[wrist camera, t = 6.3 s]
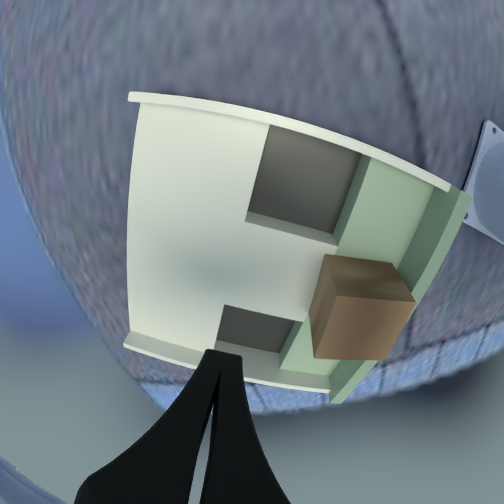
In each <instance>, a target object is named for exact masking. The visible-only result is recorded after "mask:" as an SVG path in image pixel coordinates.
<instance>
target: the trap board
mask: <svg viewBox="0 0 504 504" xmlns="http://www.w3.org/2000/svg"><path fill="white" fill-rule="evenodd" d="M128 101H133V102H141V104H140V110H139V115H138V121H137V128H136V134H135V141H134V149H133V157H132V166H131V176H130V188H129V202H128V223H127V285H128V306H129V320H130V332H129V334H128V335H127V337H126V339H125V341H124V343H123V344H124V347H126V348H128V349H131V350H134V351H137V352H140V353H143V354H146V355H149V356H152V357H155V358H158V359H161V360H165V361H168V362H171V363H175V364H178V365H181V366H185V367H189V368H192V369H196V368H197V367H198V365H199V363H200V361H201V359H202V357H203V355H204V352H205V350H206V349H213V350H217V351H222V352H227V353H231V354H236V355H241V357H242V358H243V377H244V381H248V382H253V383H259V384H264V385H270V386H276V387H283V388H289V389H297V390H304V391H312V392H322V393H329V400H330V403H338V404H341V403H342V402H343V401H344V399H345V398H346V397H347V396H348V395H349V394H350V393H351V392H352V391H353V390H354V388H355V387H356V386H357V385H358V384H359V383H360V382H361V380H362V379H363V378H364V377H365V376H366V375H367V373H368V372H369V371H370V370H371V369H372V367H373V366H374V365H375V364H376V362H377V361H378V360H332V359H314V356H313V347H312V338H311V329H310V321H309V309H310V306H311V303H312V299H313V296H314V292H315V288H316V285H317V281H318V277H319V274H320V270H321V266H322V262H323V258H324V254H331V255H339V256H346V257H354V258H361V259H368V260H376V261H383V262H390V263H392V264H393V265H394V267H395V268H396V270H397V272H398V273H399V275H400V276H401V278H402V280H403V281H404V283H405V284H406V286H407V288H408V289H409V291H410V293H411V294H412V296H413V298H414V299H415V301H416V304H415V306H414V308H413V310H412V312H411V314H410V316H411V315H412V313H413V312H414V310H415V308H416V307H417V305H418V304H419V302H420V301H421V299H422V297H423V296H424V294H425V293H426V291H427V289H428V288H429V286H430V284H431V282H432V281H433V279H434V277H435V275H436V274H437V272H438V270H439V268H440V266H441V265H442V263H443V261H444V259H445V257H446V255H447V253H448V251H449V249H450V247H451V245H452V243H453V241H454V239H455V237H456V235H457V233H458V231H459V228H460V226H461V224H462V222H463V219H464V217H465V215H466V212H467V210H468V208H469V205H470V203H471V200H472V198H473V197H472V196H470V195H469V194H467V193H465V192H464V191H462V190H460V189H458V188H457V187H455V186H453V185H451V184H450V183H448V182H446V181H444V180H442V179H440V178H439V177H437V176H435V175H433V174H431V173H429V172H427V171H425V170H423V169H421V168H419V167H417V166H415V165H413V164H411V163H409V162H407V161H405V160H402V159H400V158H398V157H396V156H394V155H391V154H389V153H387V152H384V151H382V150H380V149H377V148H375V147H372V146H370V145H368V144H365V143H362V142H360V141H357V140H355V139H352V138H349V137H347V136H344V135H341V134H338V133H335V132H332V131H330V130H327V129H324V128H320V127H317V126H314V125H311V124H308V123H305V122H301V121H298V120H294V119H291V118H287V117H284V116H280V115H276V114H272V113H268V112H264V111H260V110H256V109H251V108H247V107H242V106H237V105H232V104H227V103H222V102H216V101H210V100H204V99H198V98H191V97H184V96H176V95H167V94H156V93H144V92H129V97H128ZM410 316H409V317H408V319H409V318H410ZM408 319H407V321H408ZM407 321H406V322H407Z"/></svg>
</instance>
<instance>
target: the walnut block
mask: <svg viewBox="0 0 504 504" xmlns="http://www.w3.org/2000/svg"><path fill="white" fill-rule="evenodd" d="M415 304H416V301H415V299H414V298H413V296H412V294H411V293H410V291H409V289H408V288H407V286H406V284H405V283H404V281H403V280H402V278H401V276H400V275H399V273H398V272H397V270H396V268H395V267H394V265H393V264H392V263H390V262H383V261H376V260H368V259H361V258H354V257H346V256H339V255H331V254H324V258H323V262H322V266H321V270H320V274H319V277H318V281H317V285H316V288H315V292H314V296H313V299H312V303H311V306H310V309H309V321H310V329H311V338H312V347H313V356H314V359H332V360H384V359H385V358H386V356H387V355H388V353H389V351H390V350H391V348H392V346H393V345H394V343H395V341H396V339H397V338H398V336H399V334H400V332H401V330H402V329H403V327H404V325H405V323H406V321H407V319H408V317H409V316H410V314H411V312H412V310H413V308H414V306H415Z"/></svg>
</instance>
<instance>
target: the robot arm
mask: <svg viewBox="0 0 504 504" xmlns="http://www.w3.org/2000/svg"><path fill="white" fill-rule="evenodd" d="M492 129H493V131H492ZM463 191H464V192H465V193H467V194H469V195H470V196H472V197H473V198H472V200H471V203H470V205H469V208H468V210H467V212H466V215H465V217H464V219H463V222H464V223H466V224H468V225H470V226H471V227H473V228H475V229H477V230H479V231H481V232H482V233H484V234H486V235H488V236H490V237H491V238H493V239H495V240H496V241H498V242H500V243H501V244H503V245H504V132H503V131H502V130H501V129H500V128H499V127H497V126H496V125H495V124H494V123H493V122H492V121H490V120H486V121H484V124H483V128H482V132H481V136H480V140H479V143H478V147H477V150H476V154H475V157H474V160H473V163H472V166H471V169H470V172H469V175H468V178H467V181H466V184H465V186H464V189H463ZM212 407H213V415H212V425H211V436H210V447H209V456H208V462H207V467H206V472H205V477H204V483H203V488H202V493H201V499H200V503H199V504H291V503H290V502H289V500H288V499H287V497H286V495H285V494H284V492H283V490H282V489H281V487H280V485H279V483H278V482H277V480H276V478H275V476H274V474H273V472H272V470H271V468H270V466H269V464H268V462H267V459H266V457H265V455H264V453H263V450H262V447H261V445H260V442H259V439H258V437H257V434H256V431H255V427H254V424H253V421H252V417H251V414H250V410H249V405H248V401H247V396H246V391H245V385H244V377H243V358H242V357H241V355H236V354H231V353H227V352H222V351H217V350H213V349H206V350H205V352H204V355H203V357H202V359H201V361H200V363H199V365H198V367H197V368H196V370H195V372H194V373H193V375H192V377H191V378H190V380H189V381H188V383H187V384H186V386H185V387H184V389H183V390H182V392H181V393H180V394H179V396H178V397H177V398H176V399H175V401H174V402H173V403H172V405H171V406H170V407H169V408H168V410H167V411H166V412H165V413H164V414H163V415H162V417H161V418H160V419H159V420H158V421H157V422H156V423H155V424H154V425H153V426H152V427H151V428H150V429H149V430H148V431H147V432H146V433H145V434H144V435H143V436H142V437H141V438H140V439H139V440H138V441H136V442H135V443H134V444H133V445H132V446H131V447H130V448H128V449H127V450H126V451H124V452H123V453H122V454H121V455H119V456H118V457H117V458H115V459H114V460H113V461H112V462H110V463H109V464H107V465H106V466H104V467H102V468H101V469H100V470H98V471H97V472H95V473H93V474H91V475H90V476H88V478H87V479H86V480H85V481H84V482H83V484H82V485H81V487H80V488H79V490H78V492H77V495H76V499H75V502H74V504H188V501H189V496H190V491H191V485H192V481H193V476H194V471H195V466H196V461H197V456H198V452H199V448H200V445H201V442H202V439H203V436H204V432H205V429H206V426H207V423H208V420H209V416H210V413H211V410H212ZM0 504H68V503H67V502H65V501H63V500H61V499H59V498H58V497H56V496H54V495H53V494H51V493H49V492H48V491H46V490H44V489H43V488H42V487H40V486H38V485H37V484H35V483H34V482H33V481H31V480H30V479H28V478H27V477H25V476H24V475H23V474H21V473H20V472H19V471H17V470H16V468H15V467H14V466H13V465H12V464H10V463H9V462H8V461H6V460H5V459H4V458H3V457H2V456H1V455H0Z"/></svg>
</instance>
